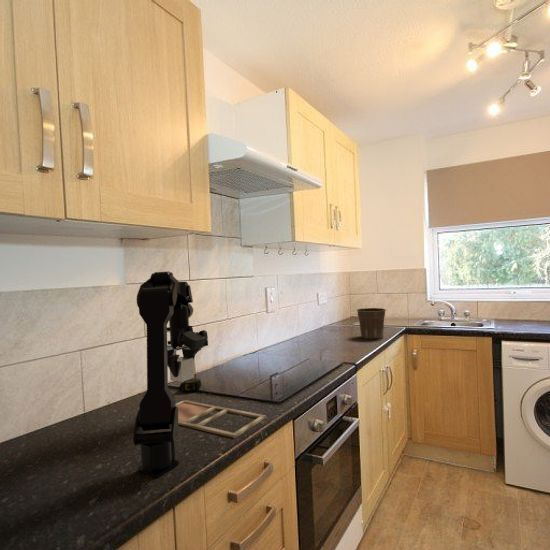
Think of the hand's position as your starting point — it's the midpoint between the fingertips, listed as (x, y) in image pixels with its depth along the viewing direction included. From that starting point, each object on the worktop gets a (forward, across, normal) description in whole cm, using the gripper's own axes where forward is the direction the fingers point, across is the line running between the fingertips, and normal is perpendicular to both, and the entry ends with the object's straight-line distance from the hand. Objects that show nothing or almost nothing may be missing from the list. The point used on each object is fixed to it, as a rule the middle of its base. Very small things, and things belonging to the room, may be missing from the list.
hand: (182, 374), depth 115 cm
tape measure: (+12, +17, +15) cm, 26 cm away
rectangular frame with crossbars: (+12, 0, -9) cm, 15 cm away
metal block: (+1, 0, 0) cm, 1 cm away
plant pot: (+12, +130, -16) cm, 132 cm away
